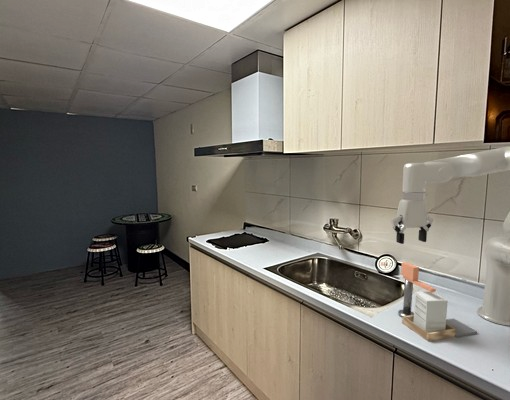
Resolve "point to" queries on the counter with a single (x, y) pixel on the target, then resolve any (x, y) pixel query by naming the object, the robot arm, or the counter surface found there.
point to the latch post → (407, 300)
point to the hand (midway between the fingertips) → (411, 242)
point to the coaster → (460, 328)
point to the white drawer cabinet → (430, 311)
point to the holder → (431, 336)
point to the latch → (414, 275)
